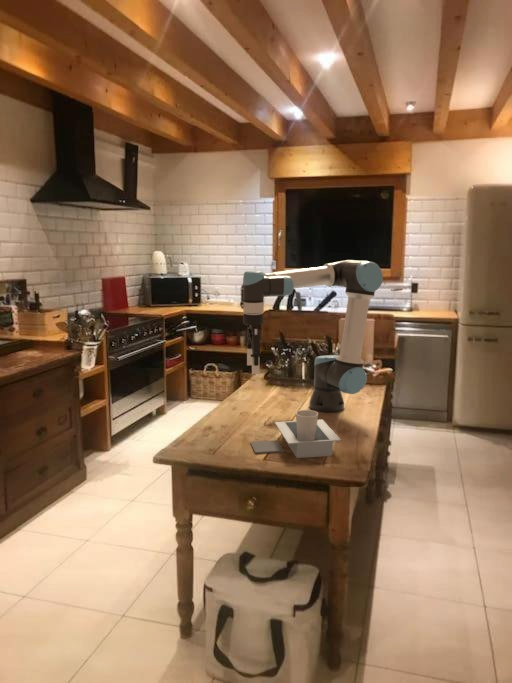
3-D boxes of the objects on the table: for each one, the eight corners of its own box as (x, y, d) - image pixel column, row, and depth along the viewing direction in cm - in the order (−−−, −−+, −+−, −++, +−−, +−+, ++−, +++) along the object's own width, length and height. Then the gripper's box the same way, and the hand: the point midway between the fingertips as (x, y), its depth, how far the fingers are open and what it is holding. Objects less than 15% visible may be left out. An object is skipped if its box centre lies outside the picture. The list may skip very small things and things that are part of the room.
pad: (277, 441, 204) (277, 440, 204) (283, 452, 194) (283, 450, 194) (250, 443, 202) (250, 441, 202) (255, 453, 192) (255, 452, 192)
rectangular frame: (322, 433, 213) (322, 419, 212) (340, 455, 192) (341, 439, 191) (274, 436, 209) (274, 422, 208) (288, 458, 188) (288, 443, 187)
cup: (302, 450, 195) (303, 418, 193) (290, 443, 202) (291, 411, 200) (321, 447, 199) (322, 414, 197) (309, 439, 206) (310, 408, 204)
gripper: (239, 309, 217) (239, 362, 221) (247, 318, 192) (247, 378, 196) (258, 308, 218) (258, 361, 222) (268, 318, 193) (268, 377, 198)
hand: (253, 369), depth 209 cm, fingers open, 13 cm apart
